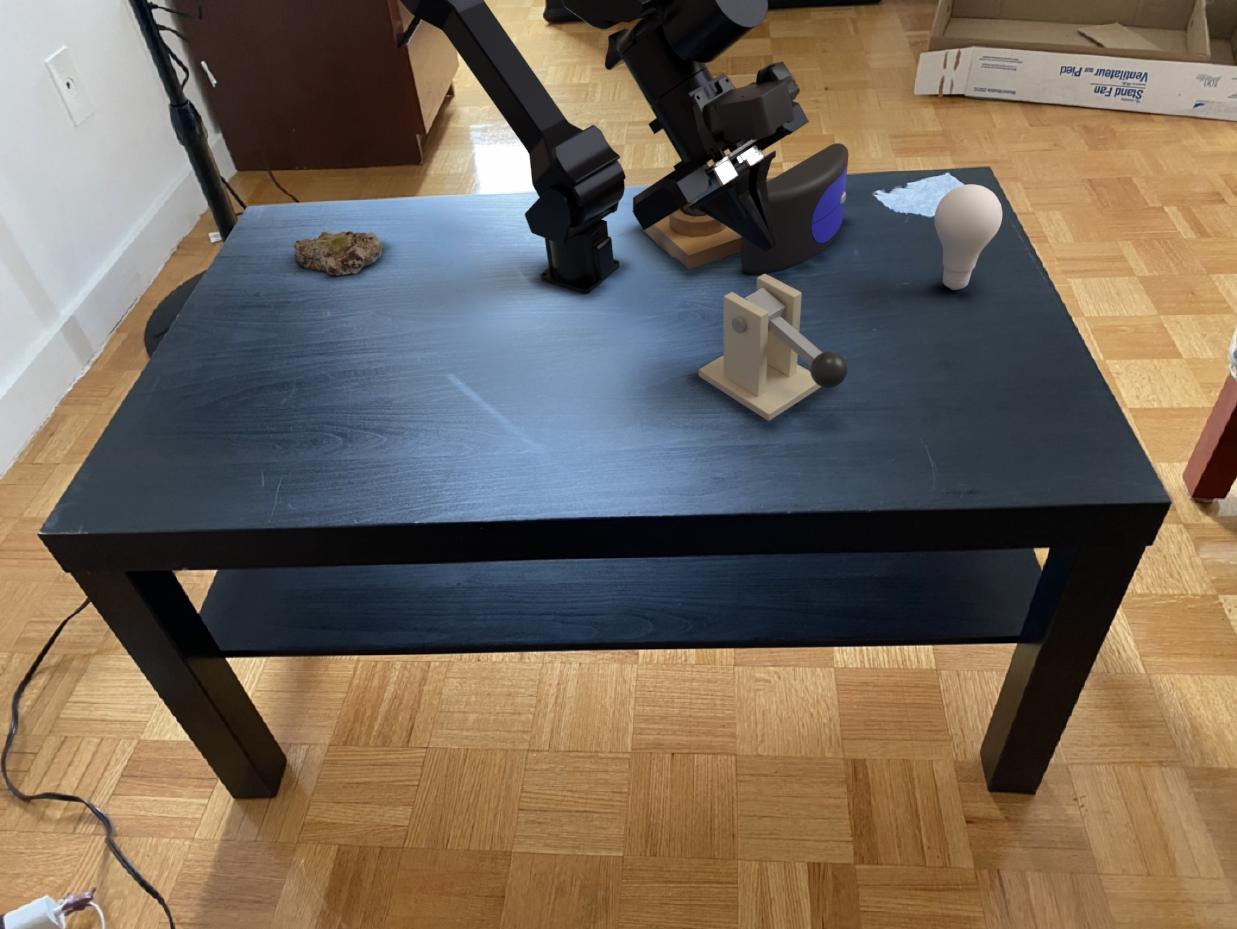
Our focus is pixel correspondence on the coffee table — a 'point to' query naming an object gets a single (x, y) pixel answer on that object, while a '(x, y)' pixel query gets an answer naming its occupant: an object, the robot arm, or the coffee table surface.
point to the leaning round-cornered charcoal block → (802, 211)
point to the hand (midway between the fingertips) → (771, 248)
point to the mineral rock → (339, 252)
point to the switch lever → (801, 343)
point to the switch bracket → (760, 354)
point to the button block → (694, 238)
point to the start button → (692, 213)
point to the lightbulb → (965, 230)
